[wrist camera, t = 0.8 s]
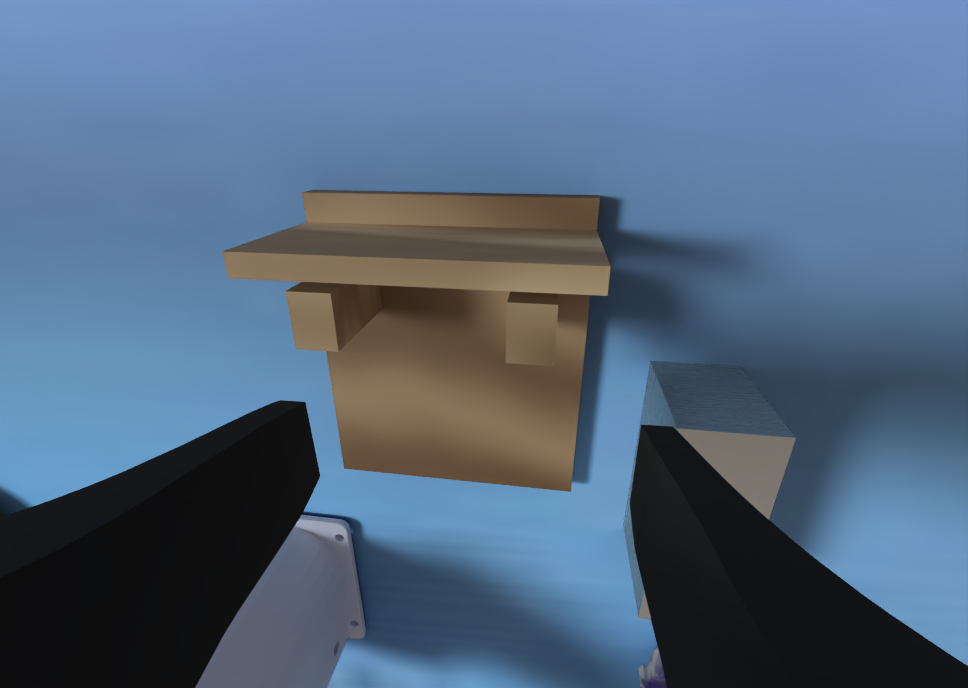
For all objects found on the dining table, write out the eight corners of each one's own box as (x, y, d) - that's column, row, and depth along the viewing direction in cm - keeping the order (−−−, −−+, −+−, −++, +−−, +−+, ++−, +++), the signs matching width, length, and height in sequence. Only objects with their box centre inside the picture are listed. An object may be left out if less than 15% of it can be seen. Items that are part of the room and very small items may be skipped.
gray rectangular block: (697, 531, 23) (731, 630, 18) (622, 523, 23) (638, 618, 18) (739, 365, 19) (796, 437, 14) (649, 359, 19) (677, 428, 15)
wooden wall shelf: (570, 479, 22) (573, 586, 17) (350, 458, 24) (291, 550, 18) (598, 195, 17) (616, 223, 12) (312, 190, 18) (213, 212, 13)
